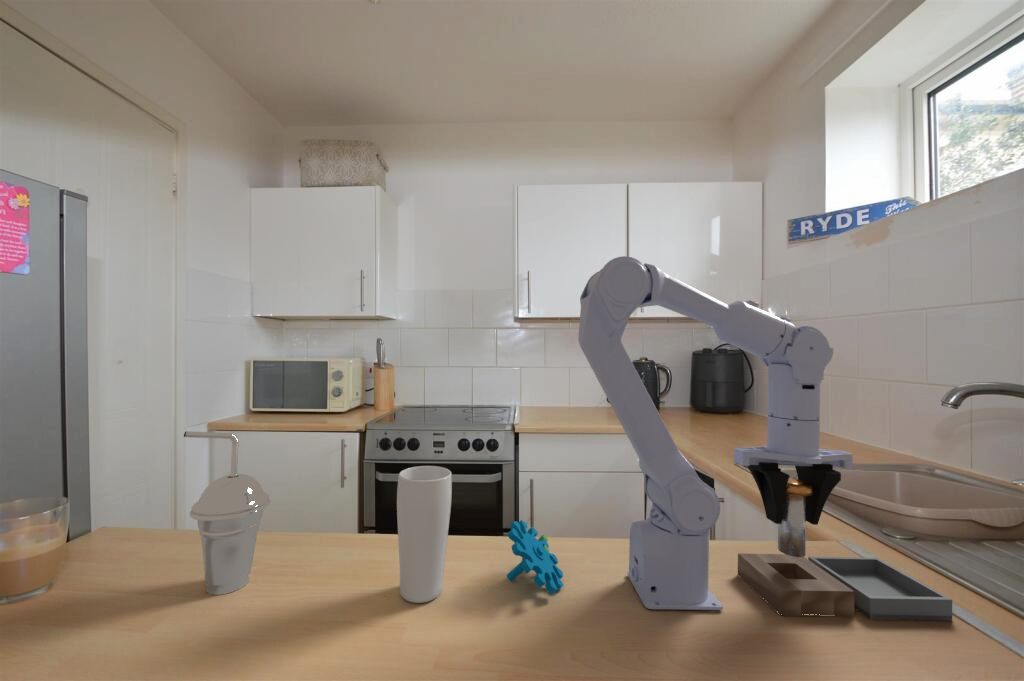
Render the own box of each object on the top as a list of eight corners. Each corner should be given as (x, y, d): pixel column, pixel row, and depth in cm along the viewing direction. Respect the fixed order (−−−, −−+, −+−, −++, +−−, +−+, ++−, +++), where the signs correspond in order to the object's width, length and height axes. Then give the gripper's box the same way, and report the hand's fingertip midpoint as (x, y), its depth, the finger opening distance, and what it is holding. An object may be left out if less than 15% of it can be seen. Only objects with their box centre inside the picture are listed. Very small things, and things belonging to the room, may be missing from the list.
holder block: (780, 615, 49) (780, 590, 49) (737, 574, 58) (737, 553, 58) (854, 616, 50) (854, 591, 50) (800, 575, 59) (800, 554, 59)
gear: (558, 600, 49) (506, 526, 52) (522, 630, 49) (472, 556, 53) (574, 567, 59) (530, 508, 62) (544, 593, 60) (501, 533, 63)
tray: (870, 619, 49) (870, 598, 49) (808, 574, 59) (808, 556, 59) (952, 620, 49) (952, 599, 49) (876, 575, 59) (876, 557, 59)
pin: (786, 559, 52) (787, 487, 52) (764, 543, 56) (765, 476, 57) (820, 560, 52) (821, 488, 52) (796, 544, 56) (796, 477, 57)
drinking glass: (458, 586, 54) (462, 470, 54) (427, 615, 48) (431, 484, 48) (416, 573, 56) (420, 462, 57) (381, 599, 50) (386, 475, 51)
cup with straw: (256, 598, 50) (264, 432, 50) (166, 611, 47) (175, 434, 48) (274, 563, 58) (280, 420, 58) (197, 572, 55) (205, 422, 56)
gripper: (757, 420, 50) (755, 533, 50) (873, 424, 51) (873, 535, 50) (726, 412, 57) (724, 510, 57) (828, 415, 58) (827, 513, 57)
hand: (791, 521), depth 54 cm, fingers closed on pin, 4 cm apart
